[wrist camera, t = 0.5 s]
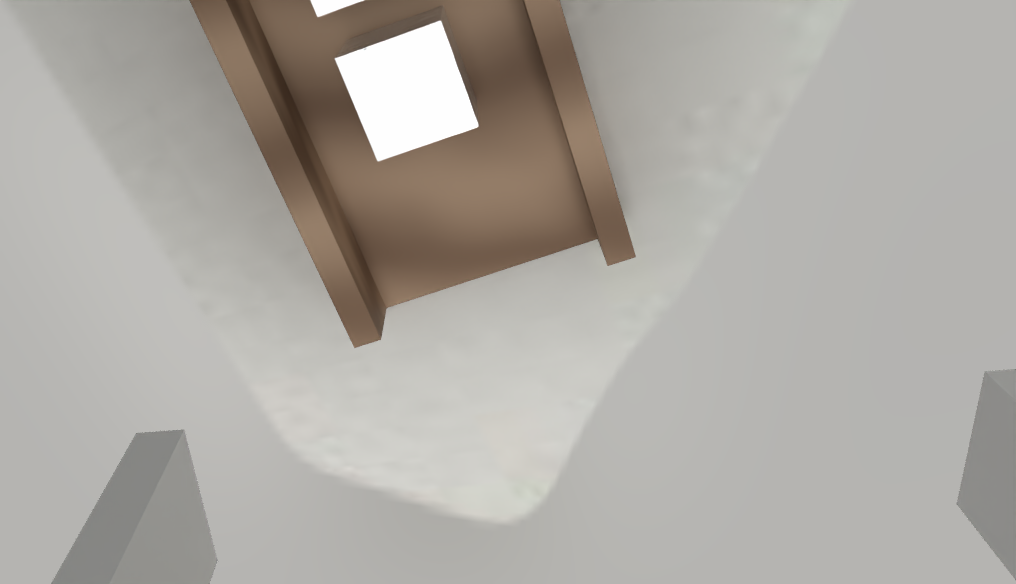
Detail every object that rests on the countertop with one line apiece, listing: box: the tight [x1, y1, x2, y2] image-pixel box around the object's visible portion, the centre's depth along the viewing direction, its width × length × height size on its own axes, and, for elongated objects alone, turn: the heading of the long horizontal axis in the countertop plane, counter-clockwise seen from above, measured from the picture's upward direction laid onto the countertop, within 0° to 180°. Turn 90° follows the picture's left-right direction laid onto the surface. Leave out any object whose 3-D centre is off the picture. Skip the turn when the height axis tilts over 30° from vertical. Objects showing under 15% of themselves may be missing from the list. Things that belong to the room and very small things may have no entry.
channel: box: [190, 0, 636, 348], centre depth 35 cm, size 18×12×4 cm
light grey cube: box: [335, 5, 479, 161], centre depth 34 cm, size 4×4×4 cm
